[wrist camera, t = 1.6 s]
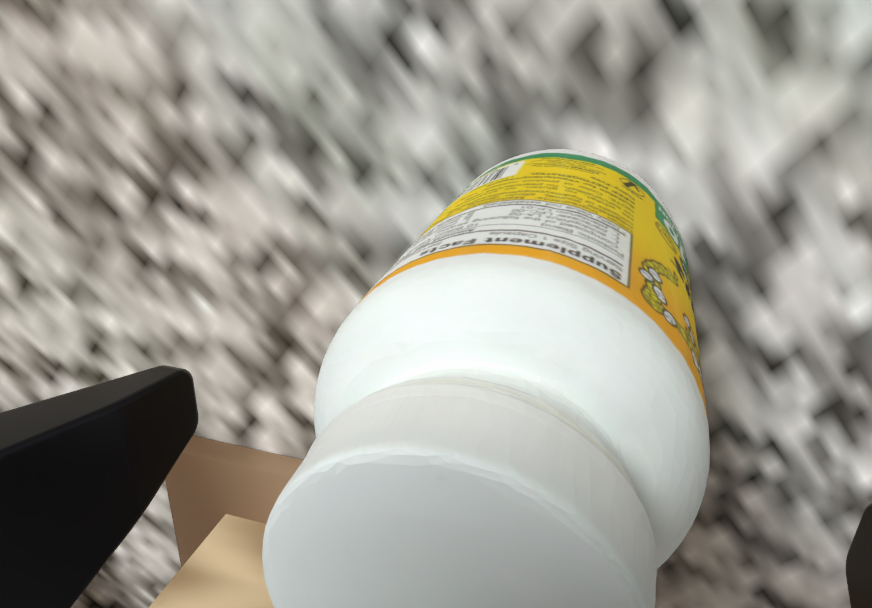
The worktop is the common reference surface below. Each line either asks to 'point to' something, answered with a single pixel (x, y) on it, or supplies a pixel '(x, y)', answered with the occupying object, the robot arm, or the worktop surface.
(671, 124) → the worktop surface
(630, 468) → the supplement bottle
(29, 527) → the robot arm
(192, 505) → the socket
